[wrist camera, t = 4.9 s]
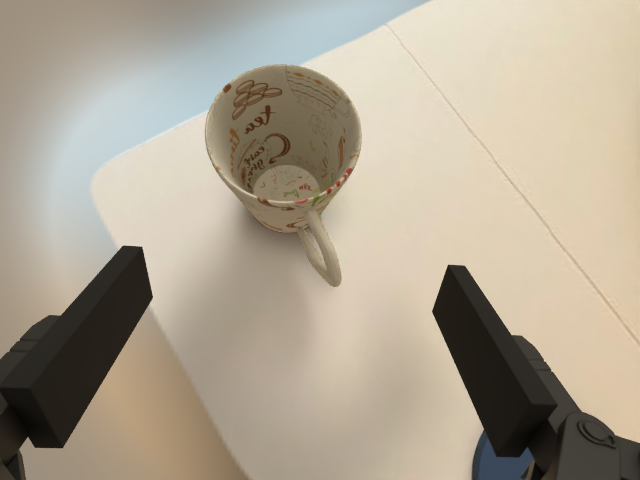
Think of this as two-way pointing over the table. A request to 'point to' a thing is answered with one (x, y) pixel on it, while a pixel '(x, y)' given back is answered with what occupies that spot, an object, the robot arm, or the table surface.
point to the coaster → (498, 463)
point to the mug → (286, 150)
